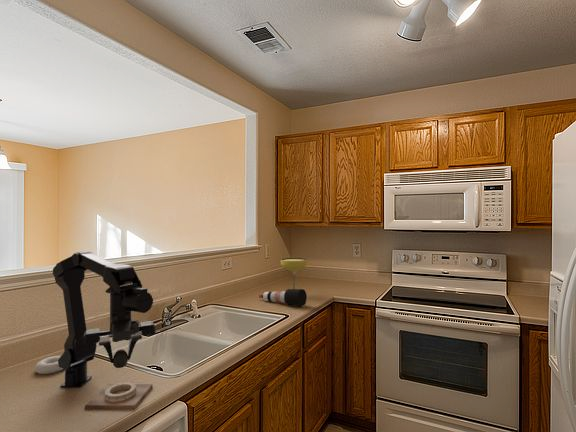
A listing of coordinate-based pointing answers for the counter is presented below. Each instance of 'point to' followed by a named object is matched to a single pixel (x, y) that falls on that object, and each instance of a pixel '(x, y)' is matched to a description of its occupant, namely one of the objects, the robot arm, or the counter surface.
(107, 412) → the counter surface
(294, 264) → the cocktail glass
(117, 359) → the egg
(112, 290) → the robot arm
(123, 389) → the egg stand
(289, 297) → the bottle
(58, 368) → the donut
